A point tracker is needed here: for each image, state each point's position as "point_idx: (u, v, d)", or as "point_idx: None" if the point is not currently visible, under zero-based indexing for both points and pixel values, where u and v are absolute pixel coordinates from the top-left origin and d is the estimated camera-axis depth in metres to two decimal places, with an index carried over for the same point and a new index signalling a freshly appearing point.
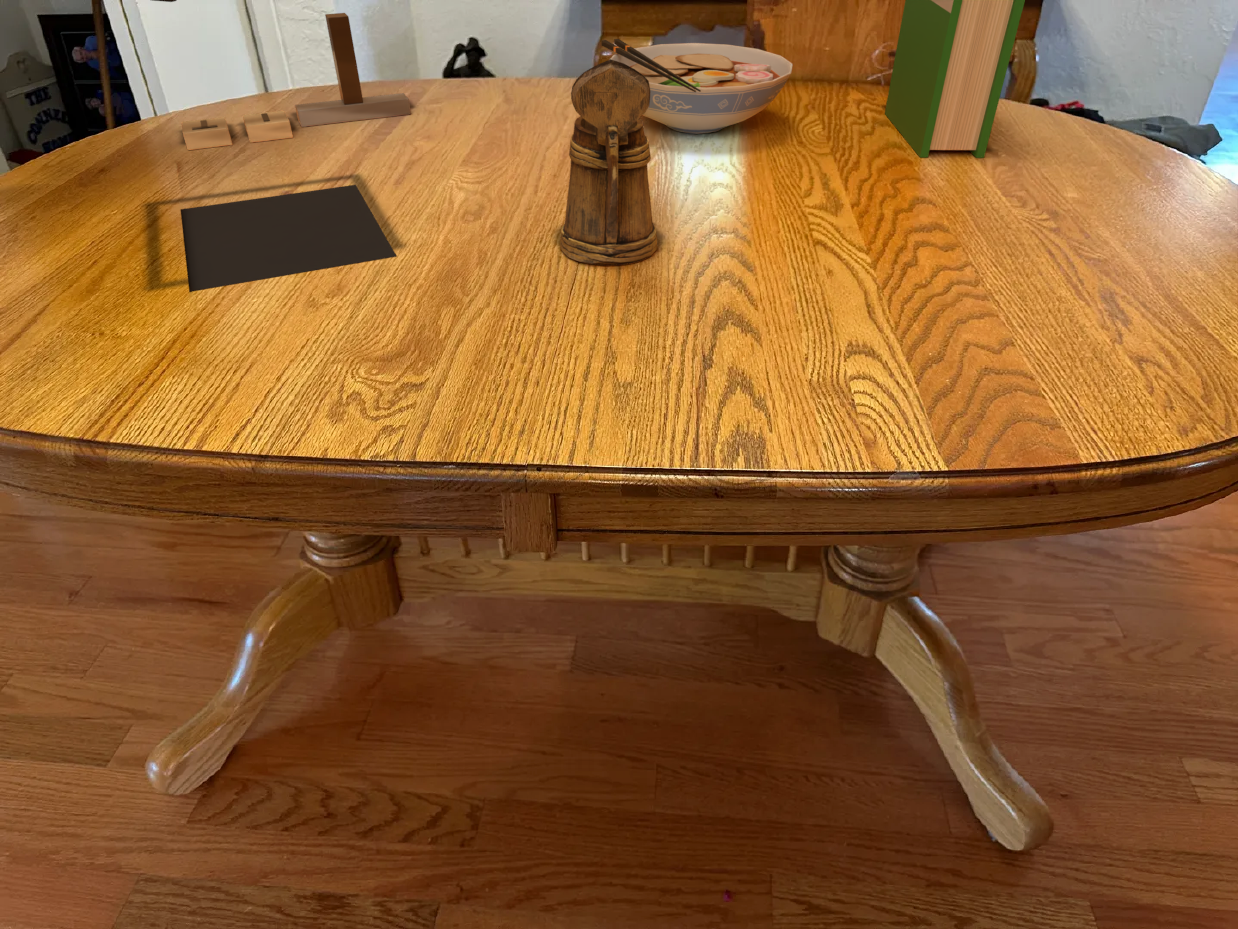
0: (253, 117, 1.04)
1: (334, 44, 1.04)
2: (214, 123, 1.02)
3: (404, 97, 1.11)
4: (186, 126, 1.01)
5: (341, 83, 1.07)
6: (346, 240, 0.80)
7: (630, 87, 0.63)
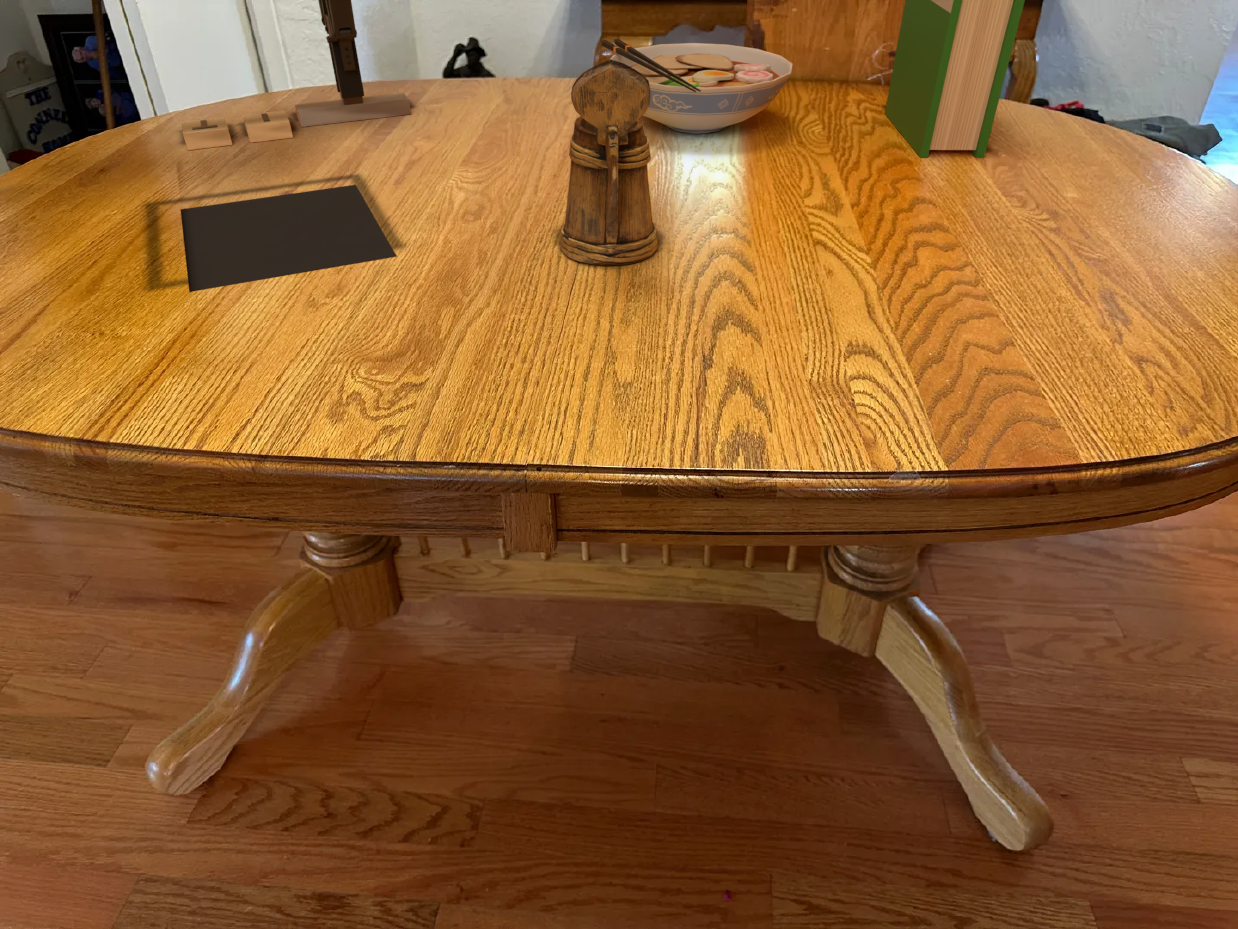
0: (253, 117, 1.04)
1: None
2: (214, 123, 1.02)
3: (404, 97, 1.11)
4: (186, 125, 1.01)
5: None
6: (346, 240, 0.80)
7: (630, 87, 0.63)
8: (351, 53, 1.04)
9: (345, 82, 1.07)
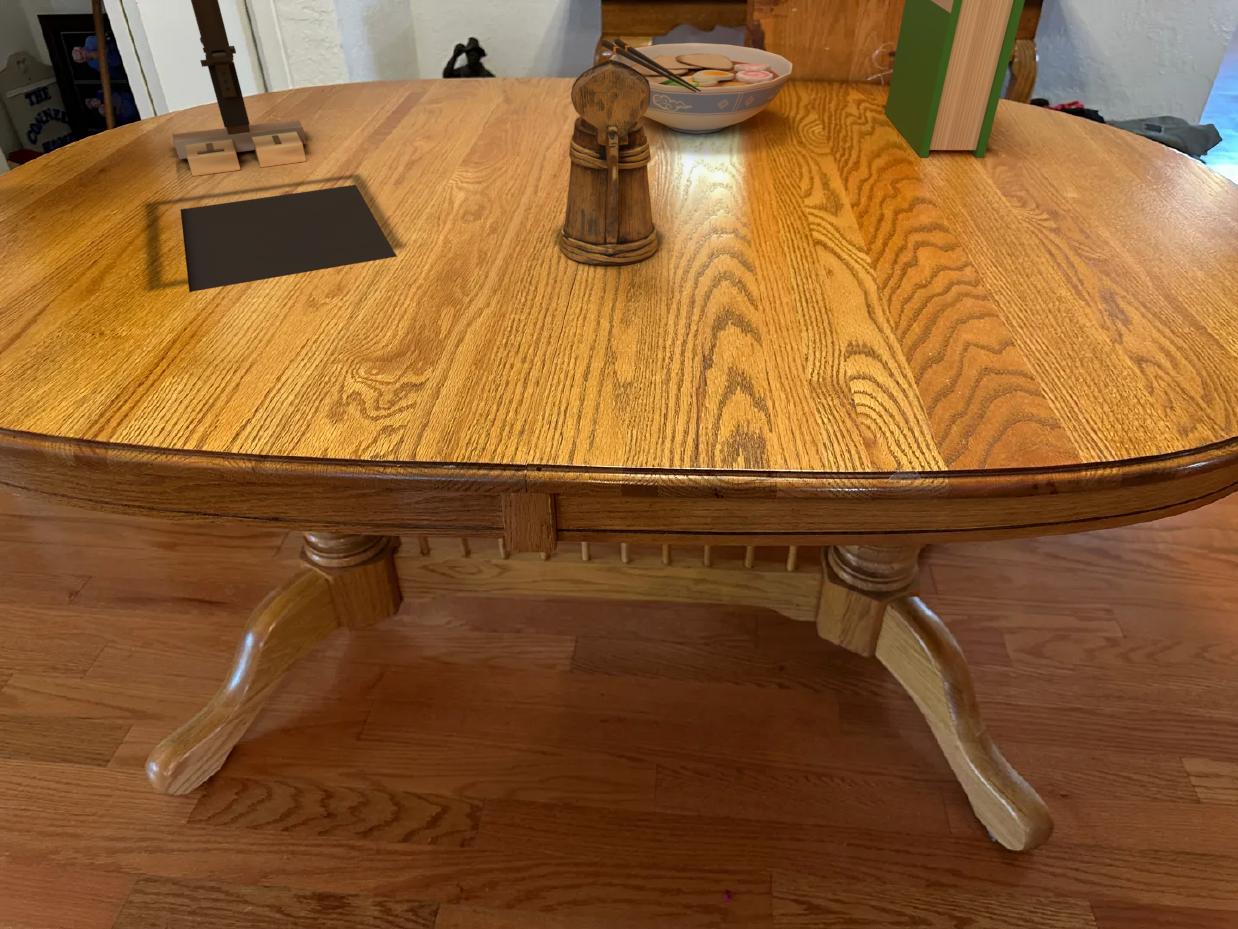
0: (263, 139, 0.97)
1: None
2: (221, 146, 0.95)
3: (298, 125, 1.00)
4: (191, 149, 0.94)
5: None
6: (346, 240, 0.80)
7: (630, 87, 0.63)
8: (230, 78, 0.93)
9: (226, 109, 0.95)
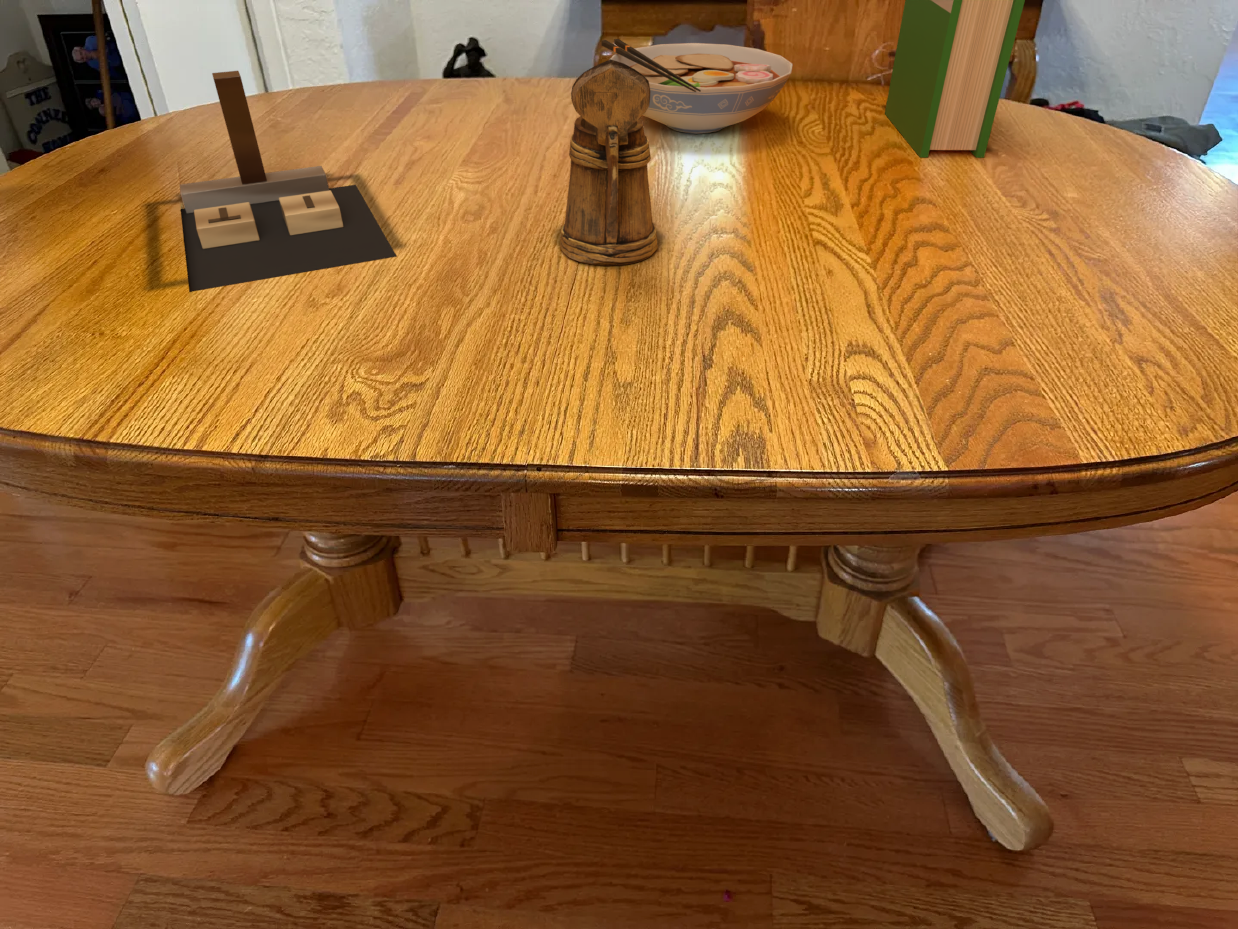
0: (293, 201, 0.82)
1: (224, 111, 0.82)
2: (236, 212, 0.80)
3: (320, 172, 0.89)
4: (201, 217, 0.79)
5: (236, 158, 0.84)
6: (346, 240, 0.80)
7: (630, 87, 0.63)
8: None
9: None
